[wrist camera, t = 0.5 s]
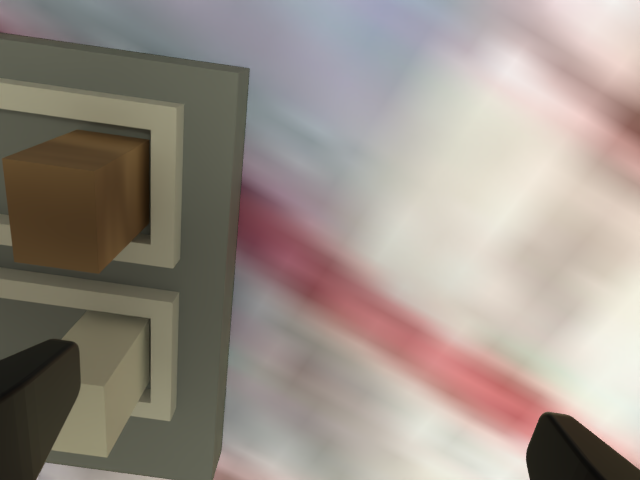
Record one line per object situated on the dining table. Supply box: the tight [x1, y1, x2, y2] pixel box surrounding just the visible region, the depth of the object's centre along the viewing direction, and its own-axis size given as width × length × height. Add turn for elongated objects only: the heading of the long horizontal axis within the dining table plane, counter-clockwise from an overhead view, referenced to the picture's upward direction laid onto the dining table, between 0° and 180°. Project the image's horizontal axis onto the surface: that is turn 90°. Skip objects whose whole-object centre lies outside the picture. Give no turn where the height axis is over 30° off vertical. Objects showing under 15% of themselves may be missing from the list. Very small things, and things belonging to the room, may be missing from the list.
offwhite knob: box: [51, 310, 149, 458], centre depth 18 cm, size 3×2×4 cm
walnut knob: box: [2, 129, 149, 274], centre depth 15 cm, size 3×2×4 cm
